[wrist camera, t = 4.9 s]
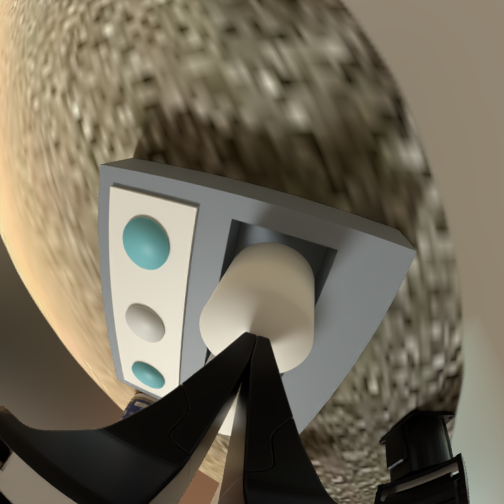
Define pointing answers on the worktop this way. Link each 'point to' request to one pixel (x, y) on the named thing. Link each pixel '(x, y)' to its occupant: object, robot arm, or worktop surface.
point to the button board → (216, 264)
